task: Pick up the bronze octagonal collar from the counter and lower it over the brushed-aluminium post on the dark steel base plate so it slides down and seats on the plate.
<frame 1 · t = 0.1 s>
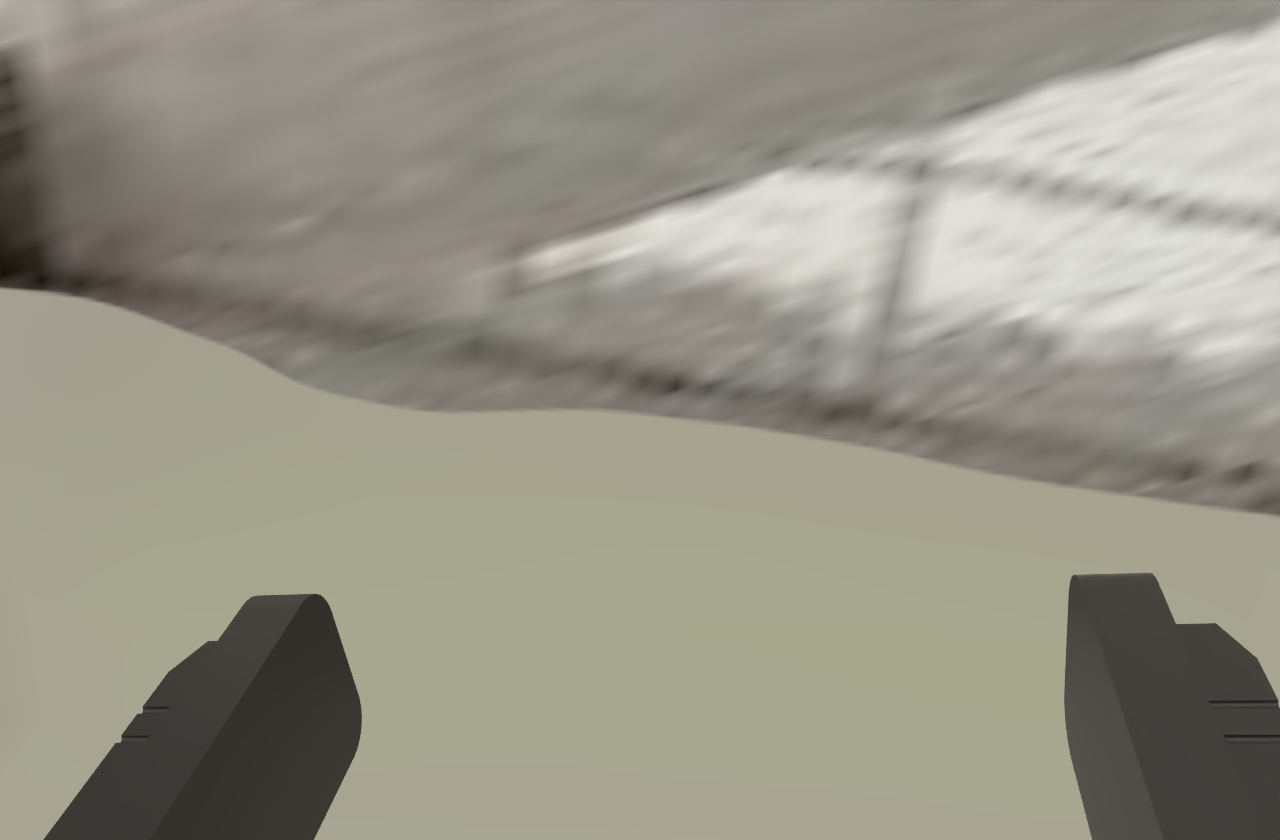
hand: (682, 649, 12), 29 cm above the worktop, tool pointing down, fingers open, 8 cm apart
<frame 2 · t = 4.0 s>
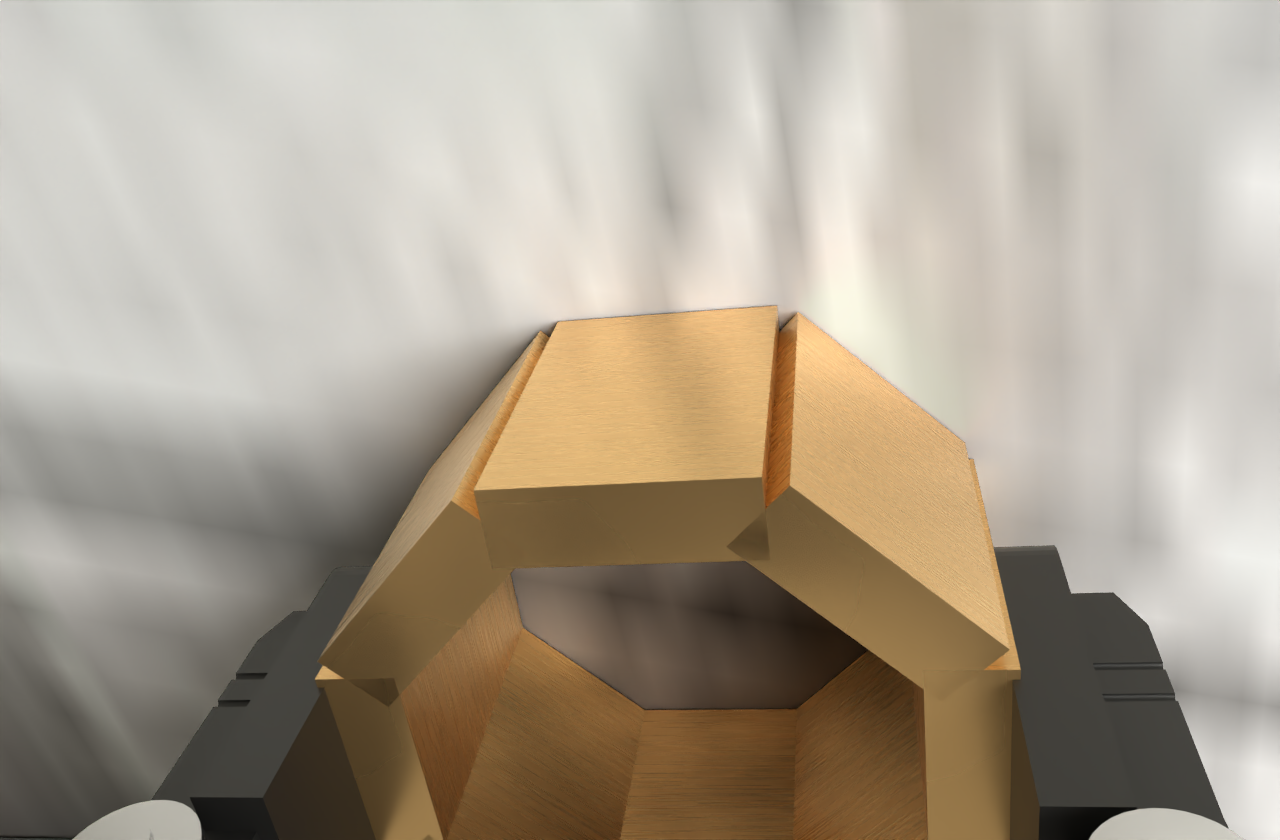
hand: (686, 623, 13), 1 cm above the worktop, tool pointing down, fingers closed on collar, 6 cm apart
collar: (699, 558, 14), on the worktop, touching gripper
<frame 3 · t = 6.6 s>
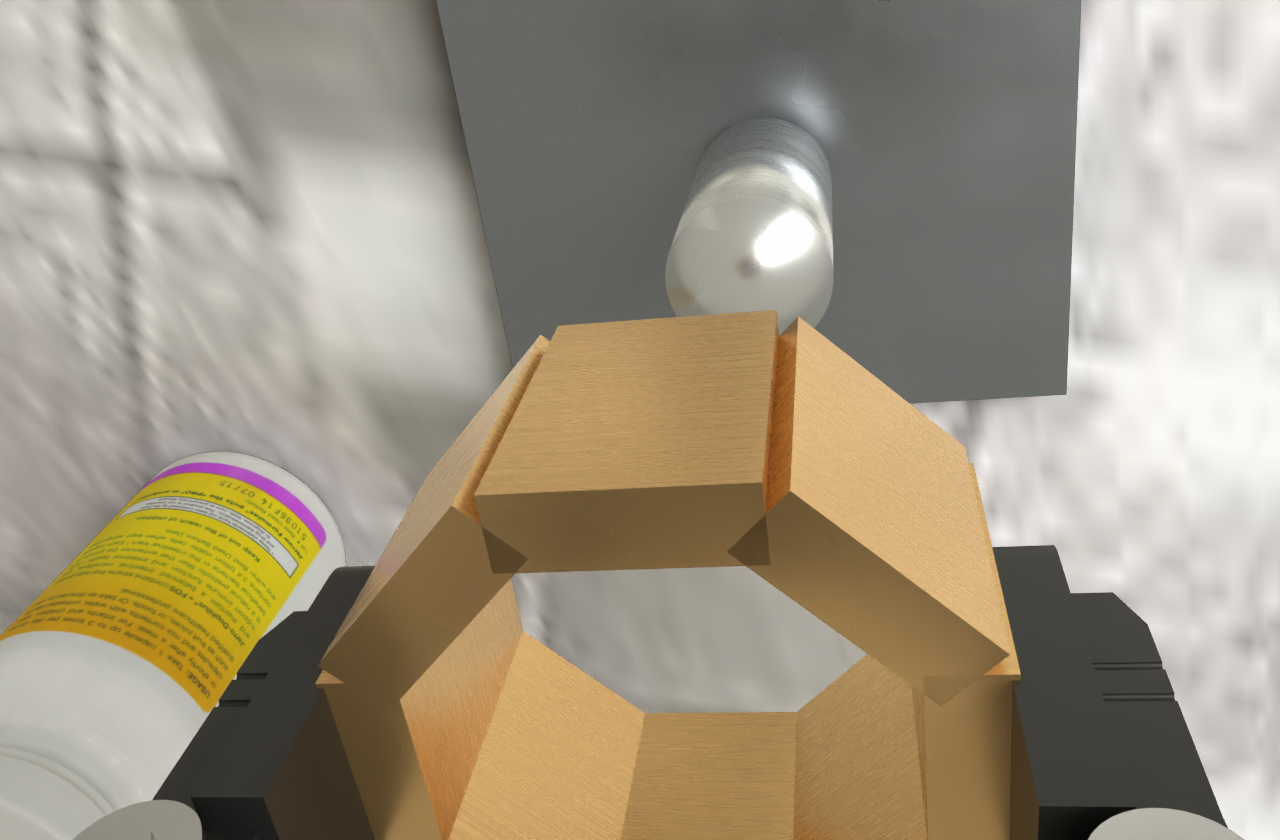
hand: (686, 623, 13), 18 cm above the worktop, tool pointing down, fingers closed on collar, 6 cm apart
supplement bottle: (253, 531, 36), on the worktop
collar: (699, 561, 14), point 16 cm above the worktop, touching gripper
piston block: (765, 171, 28), on the worktop
when the fingers open (5 cm above the worktop, at t = 9.4 s): collar drops 3 cm, resting on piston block.
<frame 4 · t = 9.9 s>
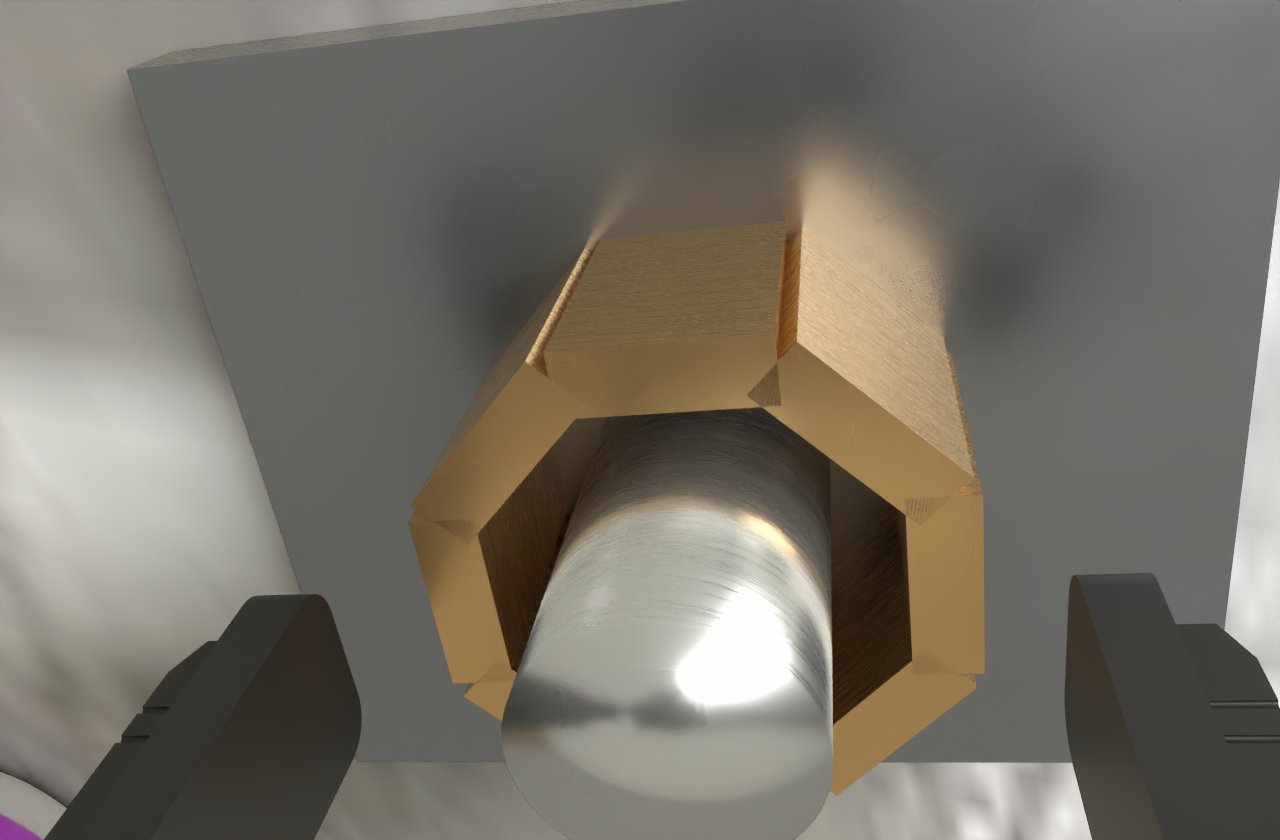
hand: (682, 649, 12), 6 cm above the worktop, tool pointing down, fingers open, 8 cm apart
collar: (718, 446, 16), point 1 cm above the worktop, touching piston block
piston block: (721, 407, 17), on the worktop
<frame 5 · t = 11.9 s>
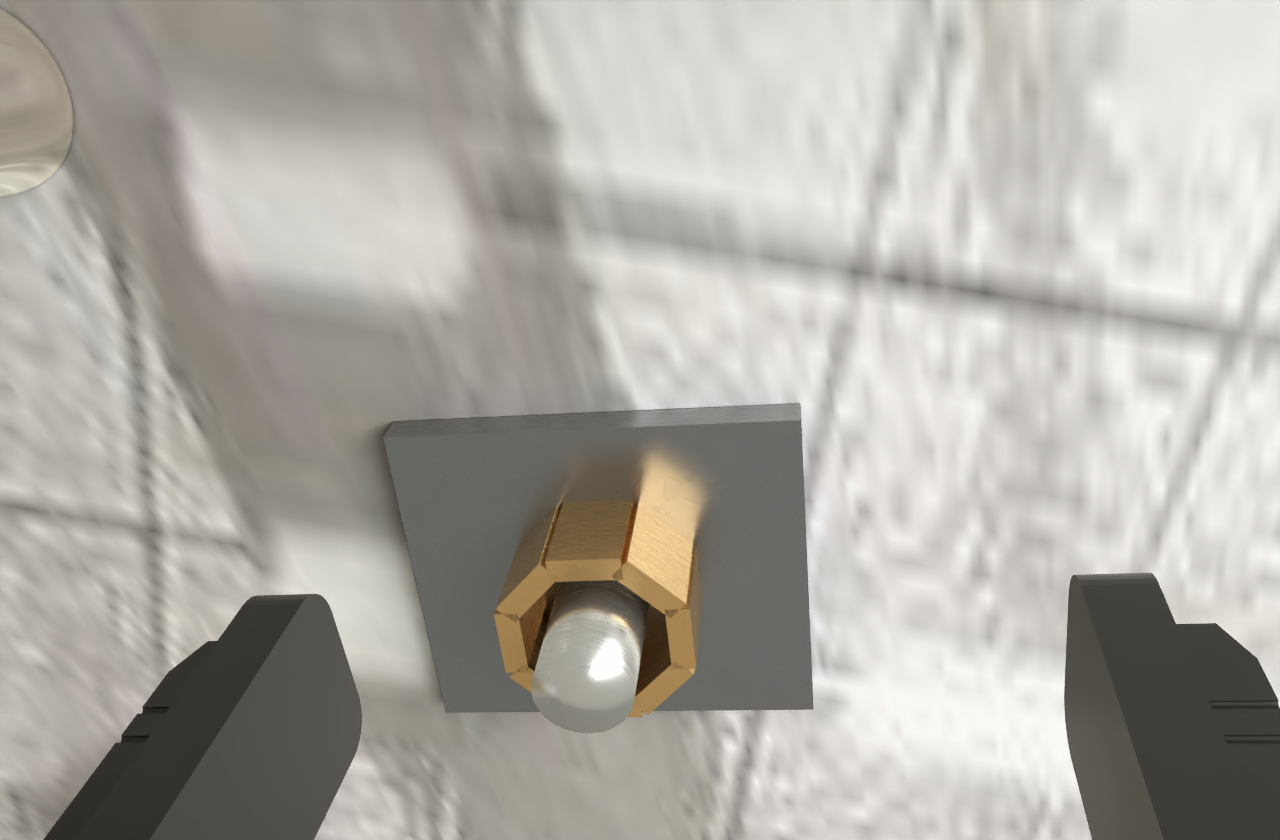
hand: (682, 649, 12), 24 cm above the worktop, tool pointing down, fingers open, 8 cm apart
collar: (608, 579, 40), point 1 cm above the worktop, touching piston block
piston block: (611, 560, 41), on the worktop
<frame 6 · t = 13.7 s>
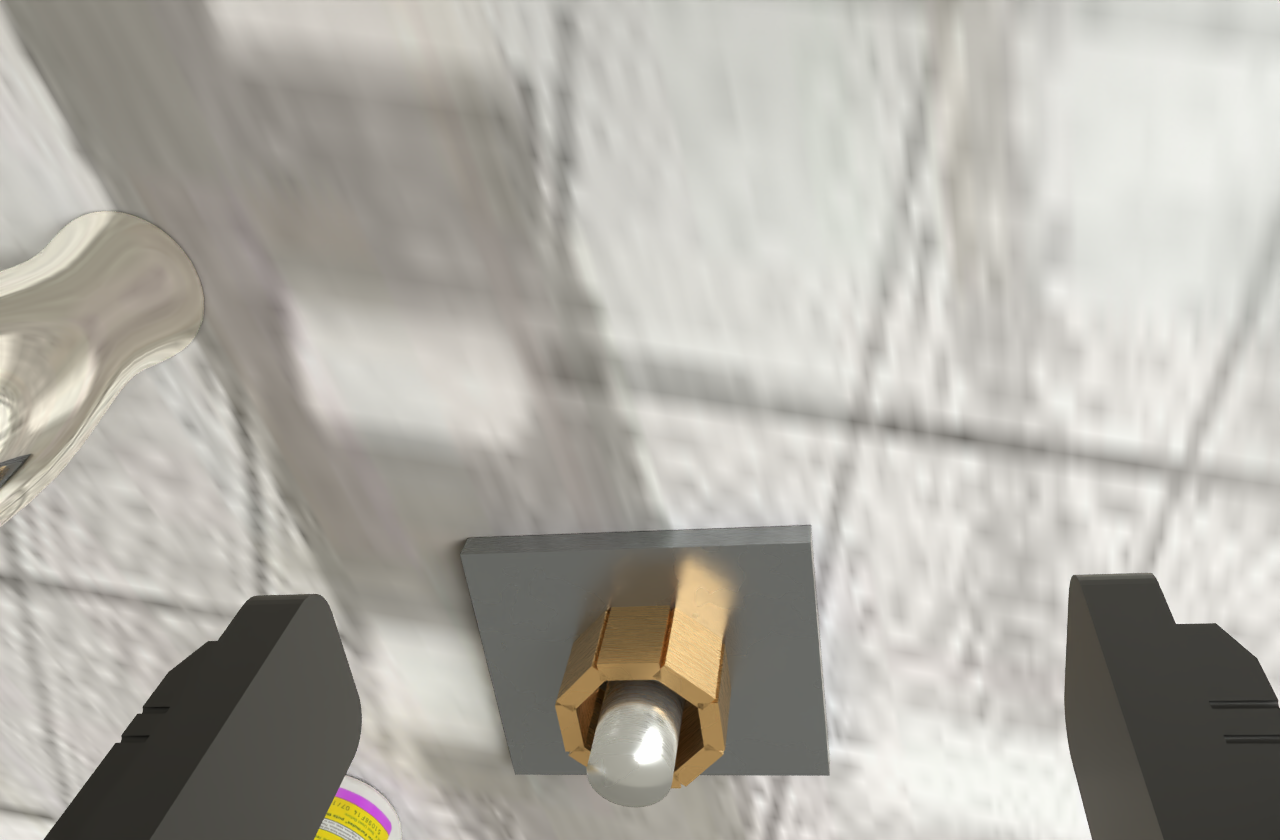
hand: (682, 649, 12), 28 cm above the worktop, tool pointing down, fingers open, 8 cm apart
beer glass: (132, 284, 44), on the worktop
supplement bottle: (342, 812, 57), on the worktop
collar: (651, 668, 48), point 1 cm above the worktop, touching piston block
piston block: (654, 649, 49), on the worktop
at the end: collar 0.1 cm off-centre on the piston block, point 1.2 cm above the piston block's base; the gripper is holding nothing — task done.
